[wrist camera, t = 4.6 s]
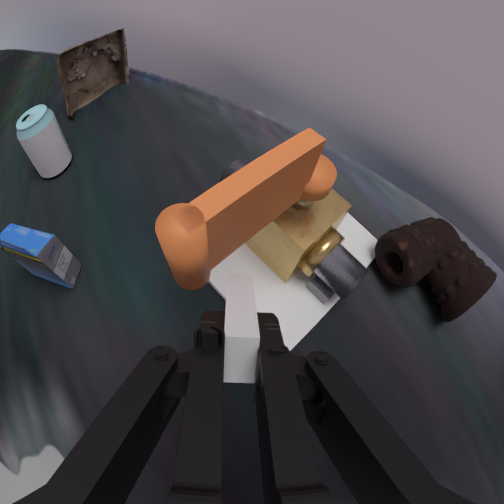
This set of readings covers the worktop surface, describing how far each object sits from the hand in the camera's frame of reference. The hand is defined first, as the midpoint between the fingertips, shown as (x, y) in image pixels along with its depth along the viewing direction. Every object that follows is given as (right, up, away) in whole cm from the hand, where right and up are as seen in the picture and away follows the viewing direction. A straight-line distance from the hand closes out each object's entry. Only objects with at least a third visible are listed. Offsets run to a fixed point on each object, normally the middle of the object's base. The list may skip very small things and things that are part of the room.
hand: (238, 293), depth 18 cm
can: (-34, +18, +23) cm, 45 cm away
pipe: (+26, -1, +20) cm, 33 cm away
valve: (+5, +4, +20) cm, 21 cm away
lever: (+1, +5, +6) cm, 8 cm away
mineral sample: (-32, +36, +32) cm, 57 cm away
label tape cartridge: (-26, 0, +16) cm, 30 cm away
